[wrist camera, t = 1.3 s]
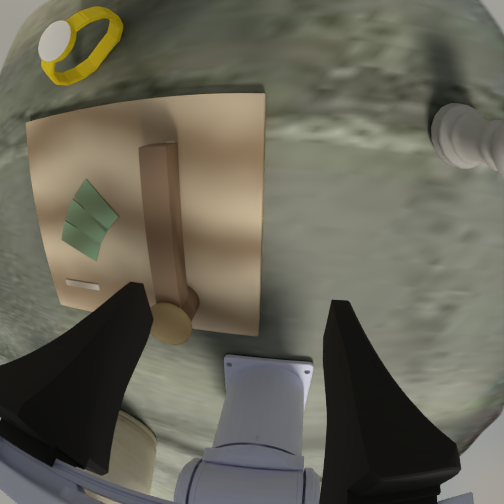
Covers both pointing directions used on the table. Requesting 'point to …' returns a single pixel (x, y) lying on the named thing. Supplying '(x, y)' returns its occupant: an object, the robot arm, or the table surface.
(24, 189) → the table surface
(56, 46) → the watch
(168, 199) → the peg lever
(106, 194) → the tan wooden board
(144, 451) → the jug
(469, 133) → the rook chess piece
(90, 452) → the robot arm
